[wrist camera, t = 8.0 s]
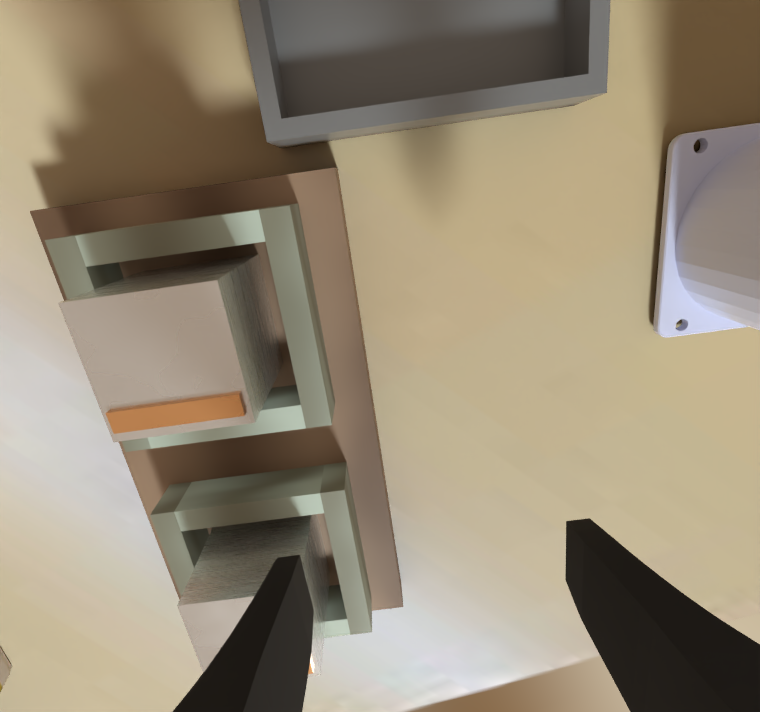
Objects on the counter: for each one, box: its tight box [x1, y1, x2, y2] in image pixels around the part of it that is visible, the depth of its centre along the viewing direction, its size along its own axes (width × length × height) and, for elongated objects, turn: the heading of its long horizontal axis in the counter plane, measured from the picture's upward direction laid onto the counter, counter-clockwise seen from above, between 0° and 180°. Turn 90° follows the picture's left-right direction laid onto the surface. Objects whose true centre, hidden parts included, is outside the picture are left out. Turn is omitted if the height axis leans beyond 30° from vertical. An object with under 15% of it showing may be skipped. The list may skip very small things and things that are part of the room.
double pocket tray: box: [30, 167, 403, 638], centre depth 20 cm, size 11×21×4 cm, turn 8°
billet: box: [177, 514, 330, 677], centre depth 19 cm, size 4×4×5 cm
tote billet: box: [59, 254, 283, 442], centre depth 15 cm, size 4×4×5 cm
